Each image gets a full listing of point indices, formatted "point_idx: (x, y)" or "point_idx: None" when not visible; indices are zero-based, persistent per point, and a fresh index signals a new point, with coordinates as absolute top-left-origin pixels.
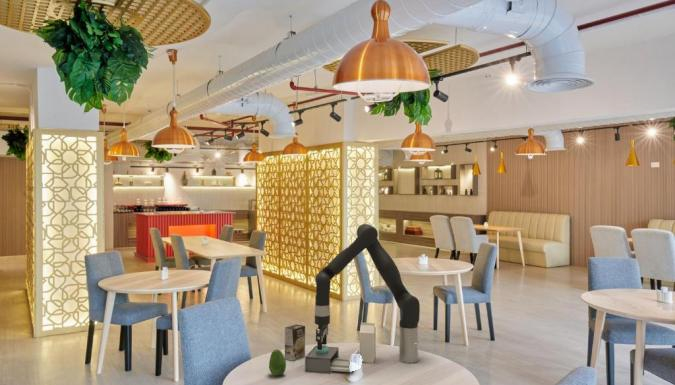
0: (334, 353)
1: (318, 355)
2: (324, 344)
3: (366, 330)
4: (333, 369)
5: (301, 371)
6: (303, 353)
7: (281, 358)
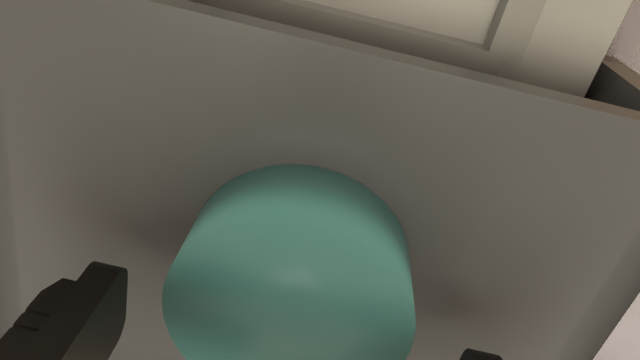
0: (330, 40)
1: (480, 315)
2: (125, 292)
3: None
4: (619, 13)
5: None
6: None
7: None
